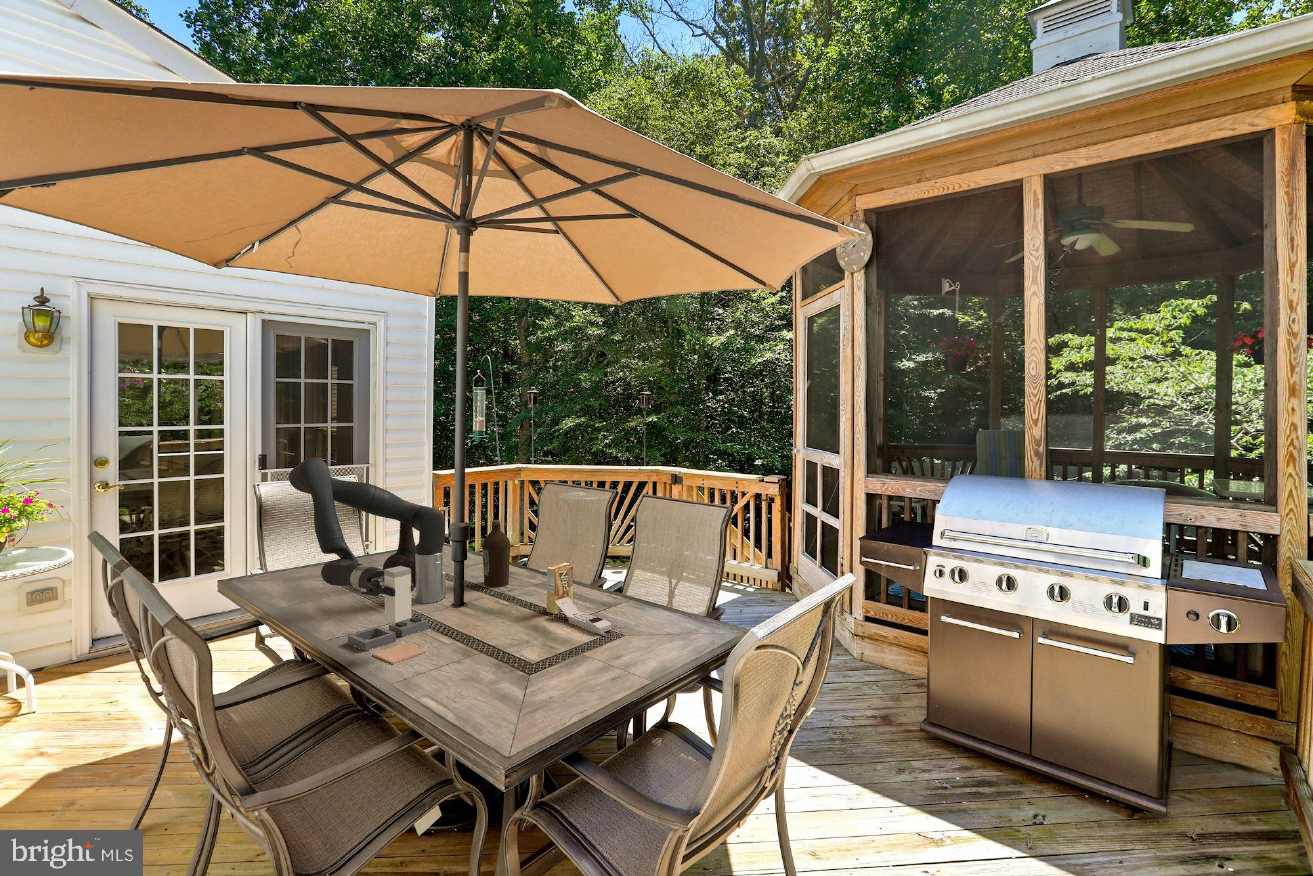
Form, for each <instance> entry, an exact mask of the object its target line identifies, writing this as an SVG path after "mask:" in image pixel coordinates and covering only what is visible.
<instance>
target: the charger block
mask: <svg viewBox="0 0 1313 876" xmlns="http://www.w3.org/2000/svg"><path fill="white" fill-rule="evenodd" d="M384 585H386V586H389V587H392V588H394V589H395V596H393V597H392V596H389V595H384V620H387V621H390V622H392V623H396V622H399V621H402V620H406V619H409V618H412V592H411V569H410V568H406V567H403V566H398V567H394V568H389V569H385V570H384Z"/></svg>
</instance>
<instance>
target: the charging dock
mask: <svg viewBox="0 0 1313 876" xmlns="http://www.w3.org/2000/svg"><path fill="white" fill-rule="evenodd" d="M427 628H428V629H429V620H426V619H423V618H420V617H417V616H411V618H409V619H406V620H402V621H399V622H396V623H394V622H392V623H390V624H388V629H386V628H384V627H381V626H379V625H378V626H375V627H371V628H368V629H365V630H364V629H363V630H361V631H358V632H355V633H352V634H351V633H350V634H348V635H347V644H348V643H349V644H350V646H352V645H353V646H352V647H354V646H356V647H357V649H359V648H360V649H359V650H361V649H362V651H363V650H365V651H366V650H369V651H371V650H373V649H372V648H374V649H377V648H379V647H378V646H380V647H383V646H385V645H389V644H392V643H395V642H397V637H400V638H405V637H408V636H410V634H411V635H413V634H412V633H414V634H417V633H419V632H418V631H420V632H422V631H421V630H423V631H425V630H424V629H426V630H428V629H427ZM416 632H417V633H416ZM407 635H408V636H407ZM375 636H376V637H375ZM377 636H378V637H377ZM371 637H373V638H371ZM369 638H370V639H369ZM365 639H367V640H365ZM388 643H389V644H388ZM349 644H348V645H349ZM382 645H383V646H382ZM356 647H355V648H356ZM376 647H377V648H376ZM370 649H371V650H370ZM365 651H364V652H365ZM366 652H367V651H366Z"/></svg>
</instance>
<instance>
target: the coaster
mask: <svg viewBox="0 0 1313 876" xmlns="http://www.w3.org/2000/svg"><path fill="white" fill-rule="evenodd" d="M425 652H427V650H425V649H423V648H419V647H417V646H415V645H412V644H409V643H407V642H403V643H401V644H400V643H399V644H398V645H397V644H396V645H394V646H391V647H388V648H385V649H383V650H380V651H377V652H374V653H372V656H373V657H375V656H376V658H377V657H378V659H381V660H383V661H384V660H385V661H384V662H387V663H388V664H392V665H396V664H398V663H401V662H404V661H406V660H410V659H412V658H414V656H415V657H417V656H420V655H423V654H426V653H425ZM403 660H404V661H403Z"/></svg>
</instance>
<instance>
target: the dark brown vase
mask: <svg viewBox="0 0 1313 876" xmlns="http://www.w3.org/2000/svg"><path fill="white" fill-rule="evenodd" d="M416 545H417V544H416V542H415V538H414V528H413V527H411V526H409V525H407V524H405V523H402V522H400V521H399V537H398V545H397V549H396V552H395V553H393V554H391V555H390V556H387V558H386V559H385V560H384V562H383V565H382V569H383V570H385V569H389V568H394V567H398V566H403V567H406V568H410V569H411V583H413V584H414V586H416V565H415V547H416Z"/></svg>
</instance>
